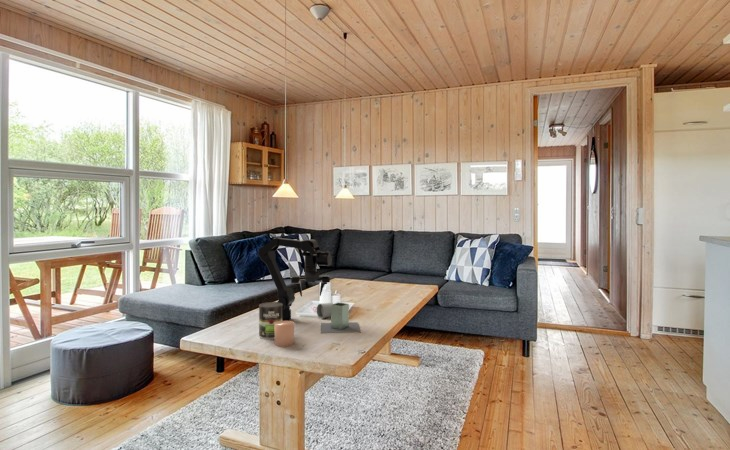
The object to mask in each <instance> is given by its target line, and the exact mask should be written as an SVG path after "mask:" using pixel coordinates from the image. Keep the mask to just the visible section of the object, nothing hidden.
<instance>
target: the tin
mask: <svg viewBox="0 0 730 450" xmlns="http://www.w3.org/2000/svg"><path fill="white" fill-rule="evenodd" d="M349 306H350V304H349V303H343V302H336V303H333V305H331V317H330V323H331V328H332V329H338V330H344V329H345V328H347V327H349V322H350V321H349V320H350V317H349V313H350V310H349V309H350V307H349Z"/></svg>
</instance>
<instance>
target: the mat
mask: <svg viewBox="0 0 730 450" xmlns="http://www.w3.org/2000/svg"><path fill="white" fill-rule="evenodd" d="M359 325H360V324H359V323H358V321H355V322H350V321H349V327H347V328H345V329H344V330H338V329H332V328H331V322H321V323H320V334H345V333H346V334H347V333H349V334H350V333H351V334H352V333H361V330H360V327H359Z"/></svg>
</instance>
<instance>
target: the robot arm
mask: <svg viewBox="0 0 730 450" xmlns="http://www.w3.org/2000/svg"><path fill="white" fill-rule="evenodd" d="M279 247H286V248H295V249H299V250H301V251H303V252H302V253H300V256H302V257H304V276H302V277H301V276H300V275H292V276H291V279H290V283H291V284H293V285H295V286H296V287H297V289H298V293H299V294H300V297H303V292H302V291H303V290H302V282H305V283H315V282H318V281H320V288H319V297H321V296H322V293H323V290H324V287H325V285H327V284H328V283H330V281H331V279H330V275H328V274H325V275H324V274H322V275H321V276H320V271H317V270H318V269H317V265H318V266H327V267H329V266H331V265H332V261H333V258H332V255H331V251H323V250H322V249H321V248H320V246H319V242H318V241H317V240H316V239H315V238H314V239H301V240H300V239H292V238H286V237H285V238H284V237H283V238H282V237H274V238H272V239H271V240H270V241H269V242H267V243H266V244H265V245H263V246H261V247H259V248H258V252H257V255H258V257H259V258H260V260H261V261H262V262H263V263H264V264H266V267H267V268H268V271H269V273H270V276H271V278H272V281H273V283H274V285H275V288H276V290H277V302H279V303H282V304H283V306H282V321H291V318H292V309H291V307H292V305H293V303H294V302H295V299H296V294H295V292H294V290H293V287H288V286H287V284H286V281H285V280H284V278H283V277H284V276H283V275H282V272H281V270H280V269H279V266H278V263H277V262H276V252H275V251H277V250H279Z"/></svg>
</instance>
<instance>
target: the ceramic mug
mask: <svg viewBox="0 0 730 450" xmlns="http://www.w3.org/2000/svg"><path fill="white" fill-rule="evenodd" d="M333 304H334V303H333V302H325V303H318V304H317V306H316V315H317V317H318V318H319V319H321V320H322V319H326V318H331V305H333Z"/></svg>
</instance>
